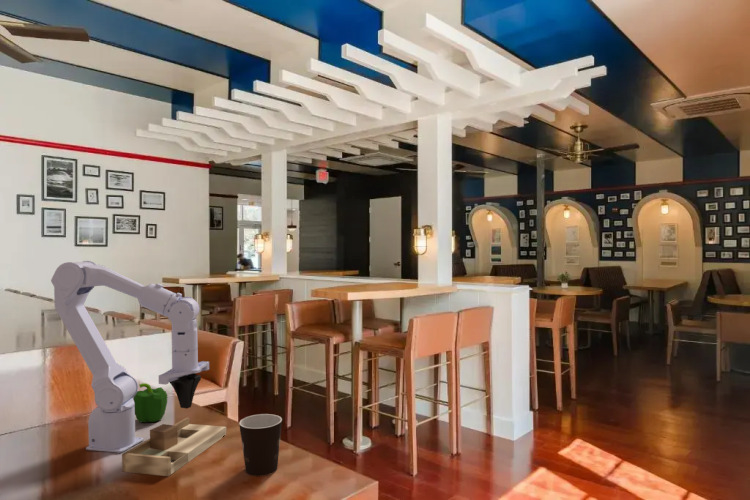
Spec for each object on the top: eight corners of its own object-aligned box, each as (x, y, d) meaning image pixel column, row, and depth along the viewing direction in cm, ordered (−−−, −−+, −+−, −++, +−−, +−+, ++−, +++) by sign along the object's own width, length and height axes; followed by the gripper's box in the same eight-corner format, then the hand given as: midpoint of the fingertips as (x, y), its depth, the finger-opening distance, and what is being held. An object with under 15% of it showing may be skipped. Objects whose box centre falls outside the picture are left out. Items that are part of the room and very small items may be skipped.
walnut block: (150, 448, 114) (149, 430, 114) (163, 441, 118) (163, 424, 118) (164, 450, 113) (164, 432, 112) (177, 443, 116) (177, 426, 116)
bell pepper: (172, 414, 143) (171, 378, 143) (161, 424, 134) (160, 386, 134) (141, 415, 142) (140, 379, 142) (128, 425, 134) (127, 387, 134)
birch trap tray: (122, 471, 107) (121, 454, 107) (186, 431, 129) (186, 417, 129) (168, 476, 104) (168, 458, 104) (226, 434, 127) (226, 420, 127)
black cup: (273, 480, 102) (272, 429, 102) (232, 476, 104) (231, 427, 104) (294, 456, 113) (293, 410, 113) (257, 453, 115) (256, 408, 115)
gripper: (175, 357, 114) (176, 419, 114) (218, 344, 127) (219, 400, 127) (150, 355, 116) (151, 415, 116) (195, 343, 130) (196, 397, 130)
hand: (185, 407), depth 122 cm, fingers closed
